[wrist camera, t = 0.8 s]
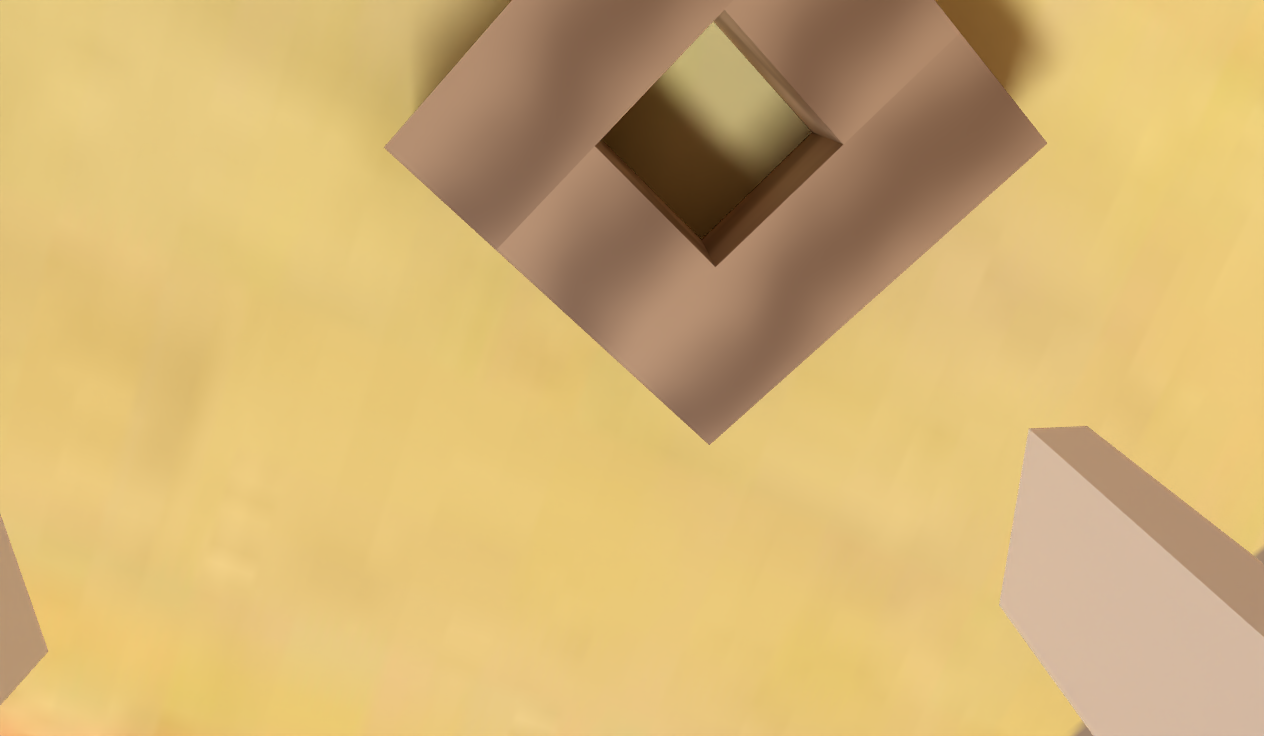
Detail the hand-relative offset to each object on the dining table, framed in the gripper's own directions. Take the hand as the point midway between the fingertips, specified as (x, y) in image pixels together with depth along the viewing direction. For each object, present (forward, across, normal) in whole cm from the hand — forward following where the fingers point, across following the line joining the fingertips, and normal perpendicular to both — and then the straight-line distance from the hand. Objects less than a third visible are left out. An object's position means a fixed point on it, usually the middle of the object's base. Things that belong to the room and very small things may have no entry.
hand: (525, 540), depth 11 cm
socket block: (+24, +5, +3) cm, 25 cm away
